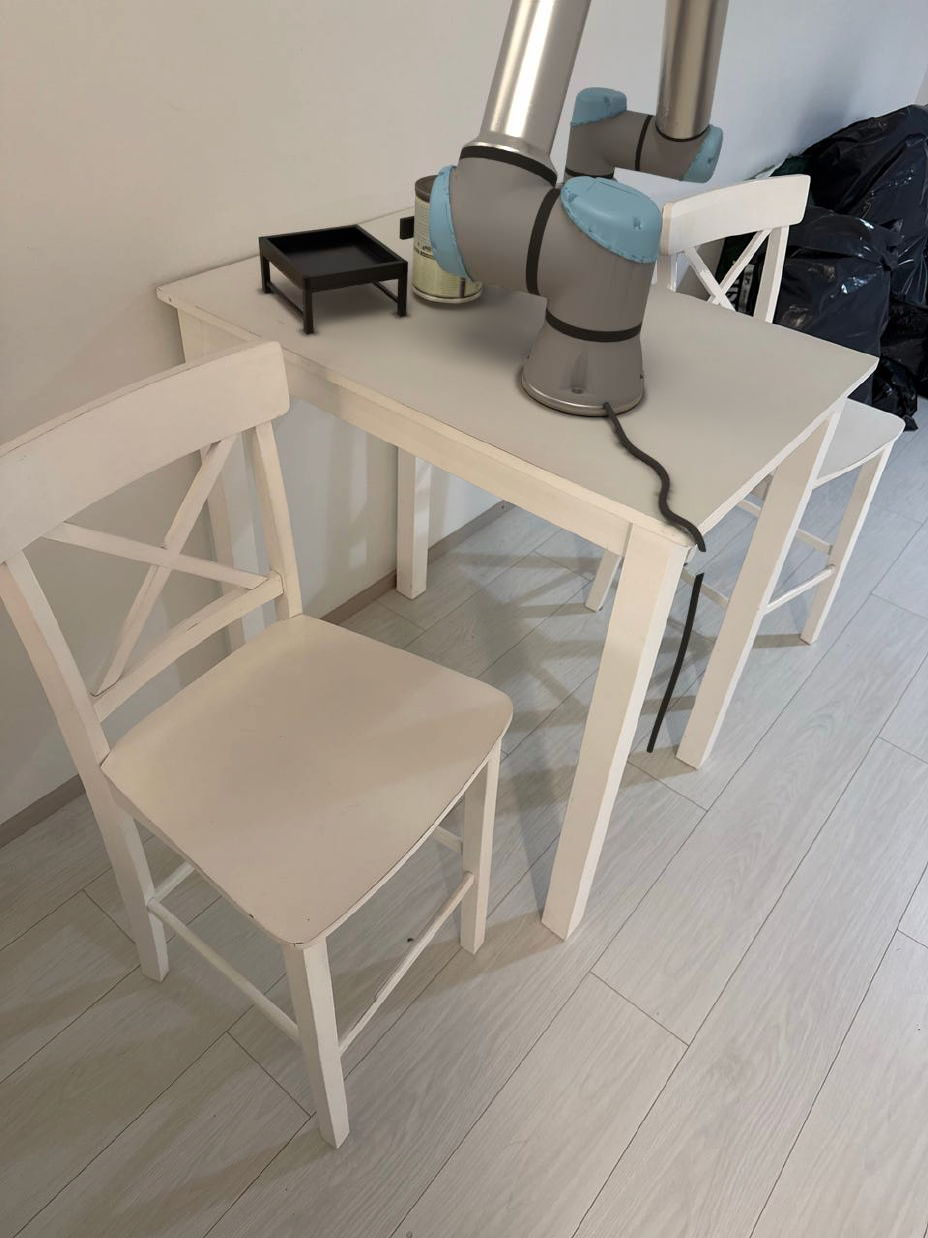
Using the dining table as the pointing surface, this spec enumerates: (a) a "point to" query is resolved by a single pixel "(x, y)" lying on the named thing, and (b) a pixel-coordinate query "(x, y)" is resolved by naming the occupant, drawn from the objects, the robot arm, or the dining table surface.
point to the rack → (331, 265)
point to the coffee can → (426, 271)
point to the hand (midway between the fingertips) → (426, 241)
